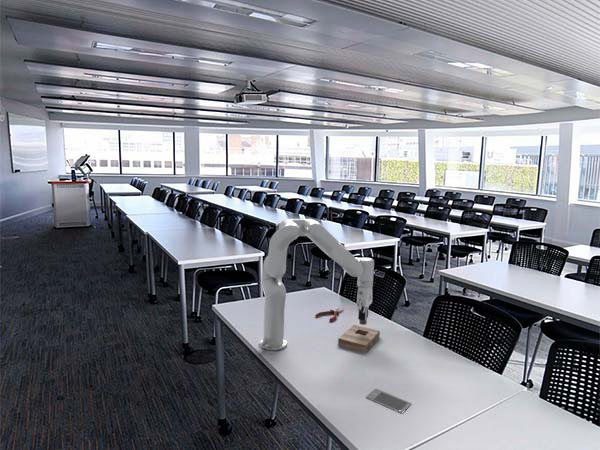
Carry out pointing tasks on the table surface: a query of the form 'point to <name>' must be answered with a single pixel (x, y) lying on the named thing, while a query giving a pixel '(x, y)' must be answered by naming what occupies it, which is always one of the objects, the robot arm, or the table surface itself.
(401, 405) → the smartphone
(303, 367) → the table surface
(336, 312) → the pliers
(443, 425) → the table surface
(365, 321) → the pin
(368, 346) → the socket block
